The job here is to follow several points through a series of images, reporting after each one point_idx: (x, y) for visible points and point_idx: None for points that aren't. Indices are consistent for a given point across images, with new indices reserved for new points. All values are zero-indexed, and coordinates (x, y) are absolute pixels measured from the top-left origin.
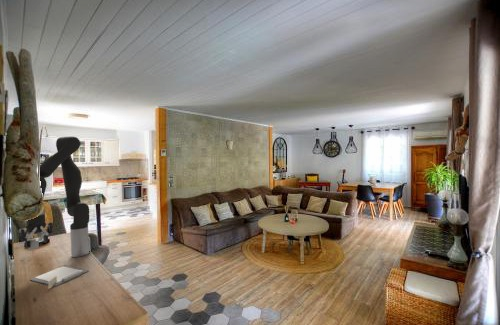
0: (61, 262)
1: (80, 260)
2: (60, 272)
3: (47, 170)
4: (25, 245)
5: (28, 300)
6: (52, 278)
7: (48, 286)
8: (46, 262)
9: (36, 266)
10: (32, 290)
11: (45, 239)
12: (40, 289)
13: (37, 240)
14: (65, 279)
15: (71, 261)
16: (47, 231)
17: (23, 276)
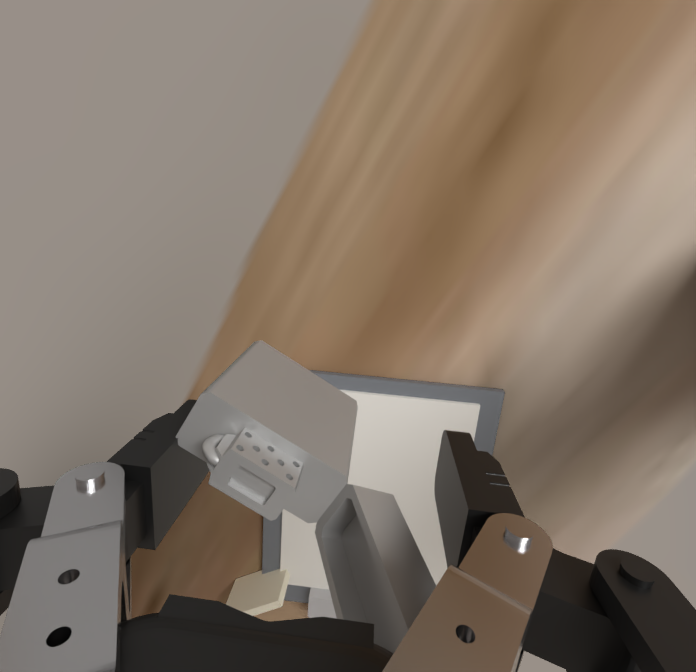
0: (576, 278)
1: (629, 411)
2: (390, 487)
3: None
4: (148, 435)
5: (135, 586)
6: (250, 613)
7: (231, 591)
8: (565, 112)
9: (469, 117)
10: (196, 513)
11: (443, 521)
12: (218, 544)
13: (310, 509)
14: (314, 612)
15: (604, 351)
16: (606, 613)
17: (296, 241)
